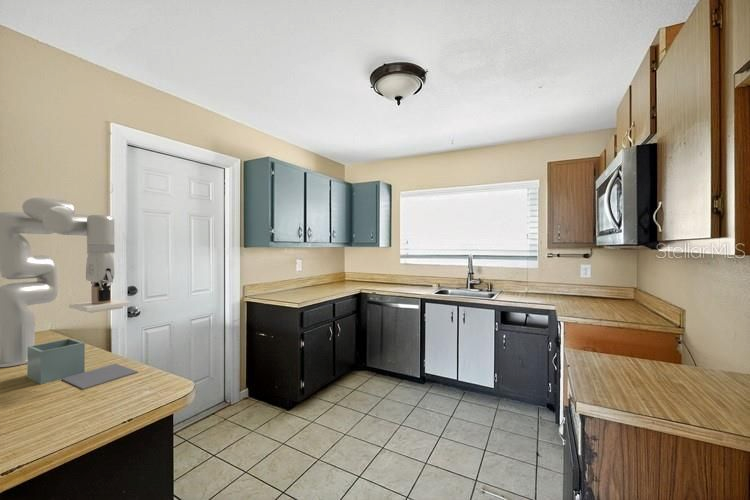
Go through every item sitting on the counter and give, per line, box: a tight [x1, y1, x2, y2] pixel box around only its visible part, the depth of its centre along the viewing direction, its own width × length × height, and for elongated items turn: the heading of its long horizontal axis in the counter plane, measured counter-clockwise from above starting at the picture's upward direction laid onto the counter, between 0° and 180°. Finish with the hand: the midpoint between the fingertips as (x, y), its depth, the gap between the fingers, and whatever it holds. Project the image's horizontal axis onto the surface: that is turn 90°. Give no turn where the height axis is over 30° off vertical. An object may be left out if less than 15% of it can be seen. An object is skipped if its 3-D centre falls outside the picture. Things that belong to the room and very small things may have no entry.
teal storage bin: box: [27, 337, 86, 385], centre depth 115 cm, size 12×12×11 cm
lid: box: [68, 286, 132, 314], centre depth 114 cm, size 13×13×8 cm
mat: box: [61, 363, 139, 391], centre depth 114 cm, size 16×16×1 cm
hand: (101, 299), depth 114 cm, fingers closed on lid, 4 cm apart
